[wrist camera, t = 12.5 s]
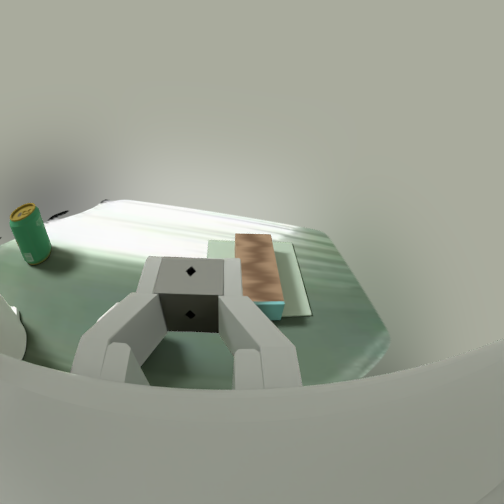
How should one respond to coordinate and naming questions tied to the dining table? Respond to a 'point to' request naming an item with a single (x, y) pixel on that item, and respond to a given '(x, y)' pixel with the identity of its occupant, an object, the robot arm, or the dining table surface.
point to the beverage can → (30, 233)
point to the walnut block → (260, 273)
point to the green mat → (286, 268)
